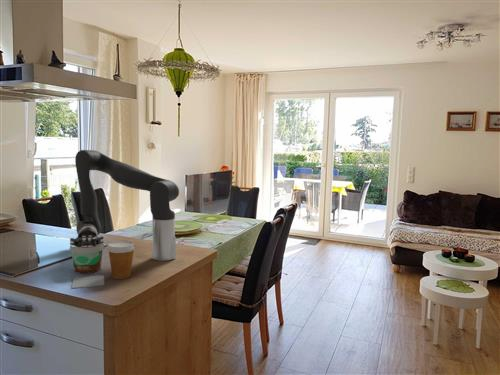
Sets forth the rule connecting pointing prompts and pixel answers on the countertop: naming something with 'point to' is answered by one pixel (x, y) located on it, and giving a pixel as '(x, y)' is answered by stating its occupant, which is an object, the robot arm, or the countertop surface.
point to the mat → (88, 281)
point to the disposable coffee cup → (121, 258)
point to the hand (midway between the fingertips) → (86, 246)
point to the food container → (87, 258)
